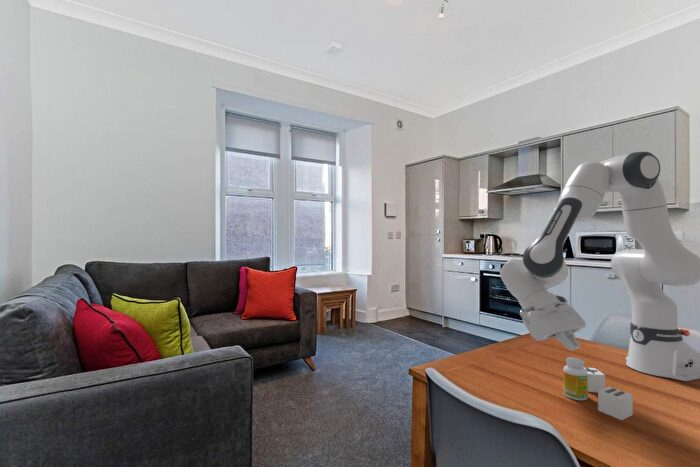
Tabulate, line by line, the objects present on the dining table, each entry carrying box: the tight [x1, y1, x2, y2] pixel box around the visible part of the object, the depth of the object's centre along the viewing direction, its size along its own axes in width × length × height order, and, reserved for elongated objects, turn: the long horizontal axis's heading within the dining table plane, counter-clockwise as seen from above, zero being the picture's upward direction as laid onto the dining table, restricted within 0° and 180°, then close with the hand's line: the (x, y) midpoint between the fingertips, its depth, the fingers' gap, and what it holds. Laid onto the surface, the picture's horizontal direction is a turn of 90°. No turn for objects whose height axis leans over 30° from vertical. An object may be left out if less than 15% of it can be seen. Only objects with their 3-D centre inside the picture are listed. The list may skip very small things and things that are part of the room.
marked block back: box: [583, 366, 606, 393], centre depth 96 cm, size 5×5×5 cm
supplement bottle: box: [563, 356, 589, 401], centre depth 91 cm, size 5×5×10 cm
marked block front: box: [597, 386, 634, 421], centre depth 83 cm, size 5×5×5 cm
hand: (575, 348), depth 92 cm, fingers closed
